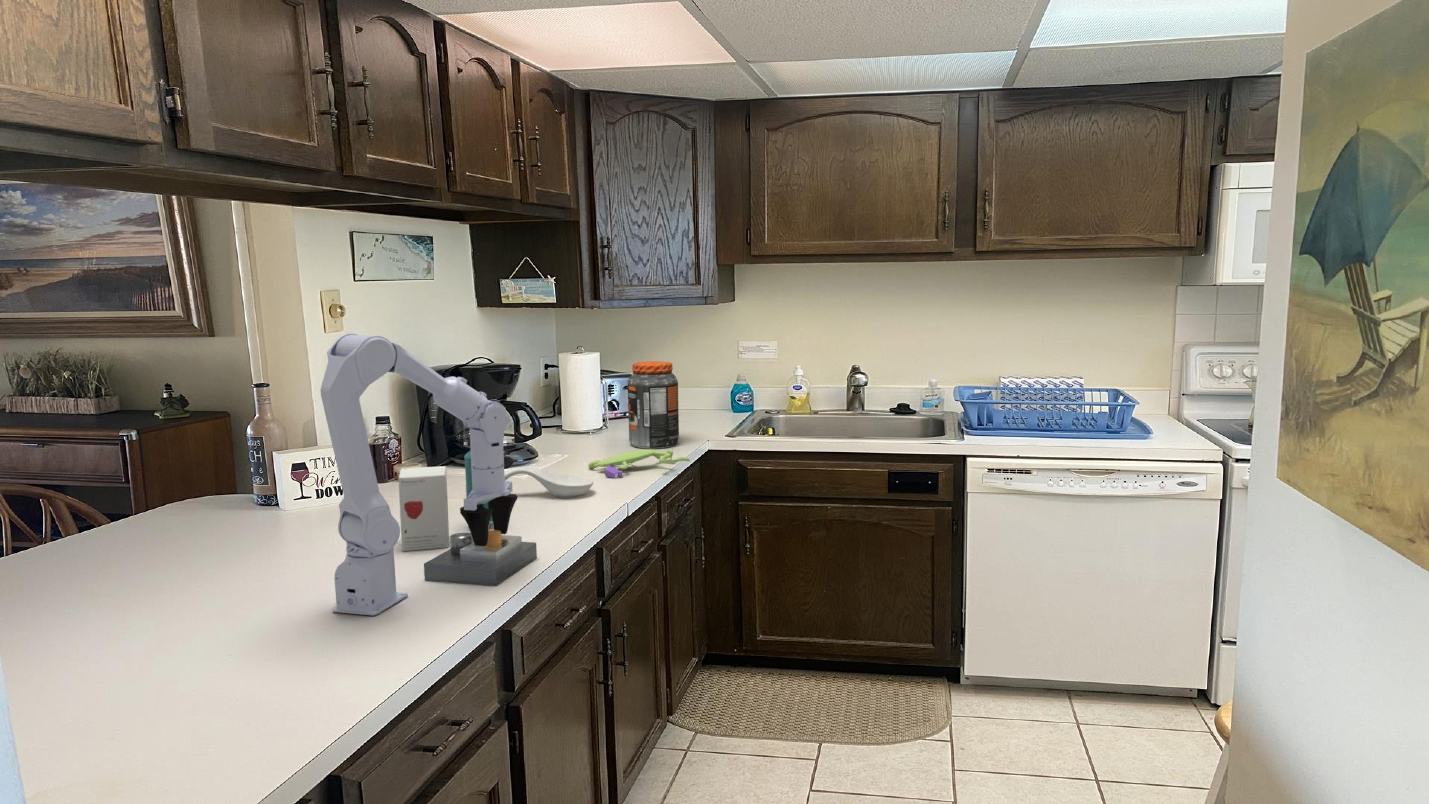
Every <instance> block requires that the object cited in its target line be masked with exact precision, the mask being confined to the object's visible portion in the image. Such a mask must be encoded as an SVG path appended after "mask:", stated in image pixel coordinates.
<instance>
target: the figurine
mask: <svg viewBox="0 0 1429 804" xmlns="http://www.w3.org/2000/svg"><path fill="white" fill-rule="evenodd" d="M673 455H674V452H673V450H672V449H667V450H666V451H658V450H657V449H638V450H634V451H629V452H624V453H620V454H616V455H613V456H610V457H608V458H603V459H602V460H597V459H595V460H592V461H591V462H589V463H588V465H587V467H588V468H589V469H596V468H599V467H601V468H605V469H604V477H607V478H609V477H611V478H610V479H622V478H623V476H624V475H623V473H624V472H623V470H626V469H628V468H629V466H632V467H633V468H637V466H636V465H633V463H636V462H639V461H642V460H645V459H647V458H650V457H652V456H653V457H655V458H656V459H657V460H658V462H659V463H661V464H676V463H679V462H691V461H690V456H678V457H676V458H674V459H672V458H673ZM598 466H599V467H598ZM617 477H619V478H617ZM621 477H622V478H621Z"/></svg>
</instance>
